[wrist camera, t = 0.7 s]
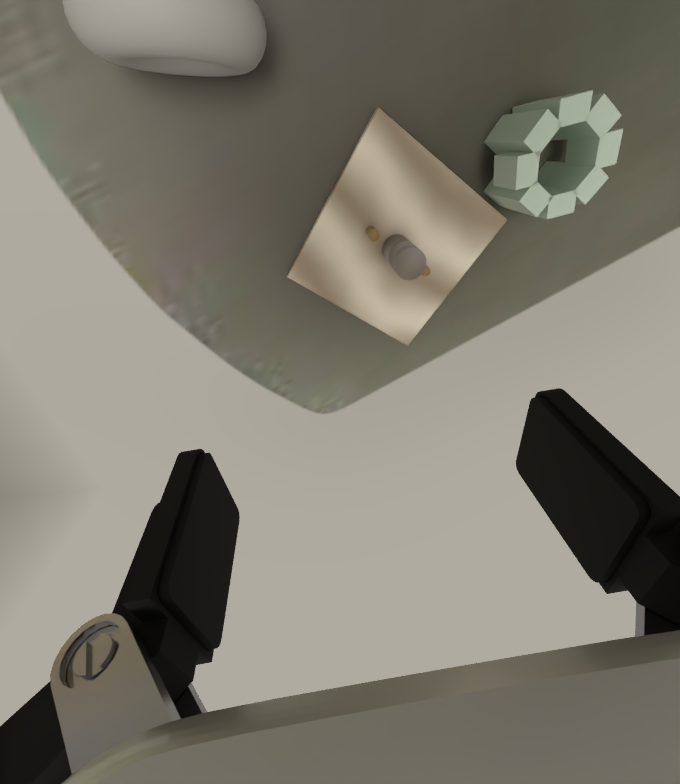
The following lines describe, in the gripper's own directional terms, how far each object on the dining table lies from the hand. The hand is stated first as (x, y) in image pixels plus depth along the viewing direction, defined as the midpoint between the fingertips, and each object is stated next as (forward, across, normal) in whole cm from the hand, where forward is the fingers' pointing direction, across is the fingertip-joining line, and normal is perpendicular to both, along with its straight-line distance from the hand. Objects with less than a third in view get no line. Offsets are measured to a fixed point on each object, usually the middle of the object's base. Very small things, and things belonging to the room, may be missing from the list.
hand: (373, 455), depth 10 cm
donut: (+26, +6, -14) cm, 30 cm away
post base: (+26, -6, +1) cm, 26 cm away
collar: (+26, -17, -4) cm, 31 cm away
